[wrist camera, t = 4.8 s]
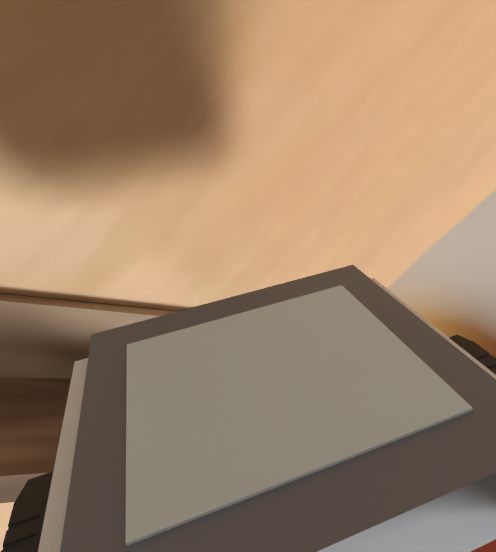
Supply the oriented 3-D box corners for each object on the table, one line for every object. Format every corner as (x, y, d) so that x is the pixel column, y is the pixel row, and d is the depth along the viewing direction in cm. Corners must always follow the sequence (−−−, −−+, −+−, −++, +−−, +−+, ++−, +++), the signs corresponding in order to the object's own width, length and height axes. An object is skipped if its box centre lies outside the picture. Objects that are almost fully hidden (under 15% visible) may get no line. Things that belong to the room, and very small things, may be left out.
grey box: (90, 332, 12) (39, 671, 5) (353, 262, 14) (572, 436, 7) (126, 410, 14) (124, 721, 7) (348, 340, 16) (512, 530, 9)
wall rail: (-50, 288, 19) (-142, 386, 12) (222, 316, 25) (254, 390, 19) (-47, 391, 21) (-121, 515, 15) (197, 393, 28) (218, 481, 21)
